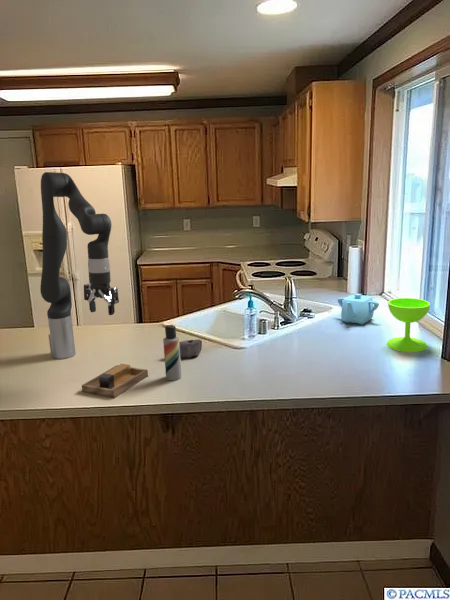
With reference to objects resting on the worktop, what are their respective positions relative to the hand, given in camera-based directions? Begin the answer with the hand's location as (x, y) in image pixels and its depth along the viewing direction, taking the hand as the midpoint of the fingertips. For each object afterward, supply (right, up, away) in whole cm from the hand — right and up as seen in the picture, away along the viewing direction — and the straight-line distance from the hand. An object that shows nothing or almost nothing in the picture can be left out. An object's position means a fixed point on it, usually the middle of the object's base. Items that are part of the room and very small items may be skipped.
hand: (102, 313), depth 188 cm
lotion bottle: (+26, -24, -1) cm, 36 cm away
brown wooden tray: (+6, -25, -4) cm, 26 cm away
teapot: (+108, -6, +55) cm, 121 cm away
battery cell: (+6, -25, -4) cm, 26 cm away
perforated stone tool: (+29, -19, +20) cm, 40 cm away
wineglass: (+120, -14, +22) cm, 123 cm away
